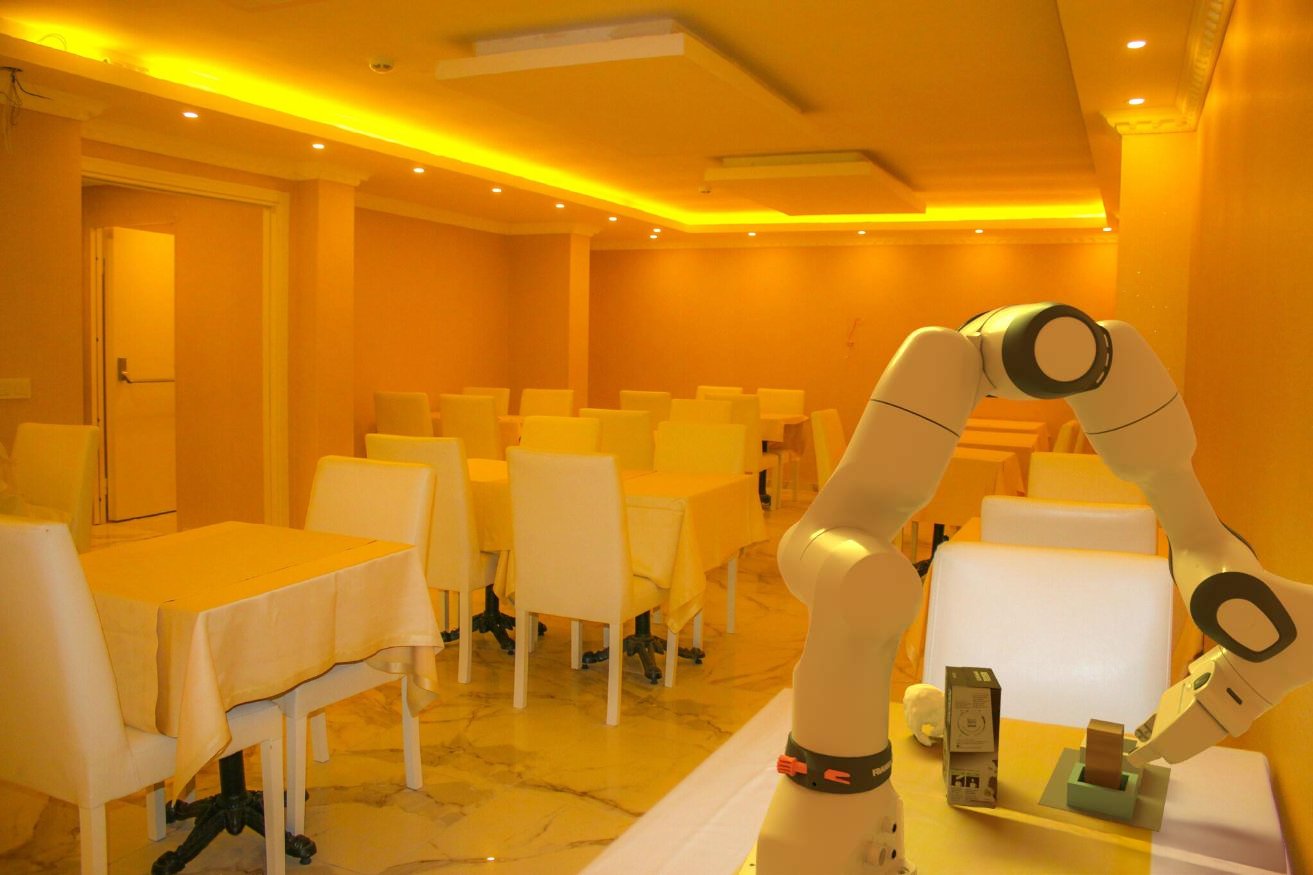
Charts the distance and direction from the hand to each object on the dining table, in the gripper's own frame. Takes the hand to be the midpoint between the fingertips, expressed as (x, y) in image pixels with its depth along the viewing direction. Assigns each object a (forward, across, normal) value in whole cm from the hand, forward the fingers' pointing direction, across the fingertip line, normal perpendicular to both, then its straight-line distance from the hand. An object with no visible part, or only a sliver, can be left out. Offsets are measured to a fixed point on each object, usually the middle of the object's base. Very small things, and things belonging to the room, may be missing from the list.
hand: (1134, 748), depth 125 cm
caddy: (+9, -5, +4) cm, 11 cm away
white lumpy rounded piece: (+26, -12, -13) cm, 31 cm away
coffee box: (+20, +5, -8) cm, 22 cm away
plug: (+8, 0, +3) cm, 8 cm away
